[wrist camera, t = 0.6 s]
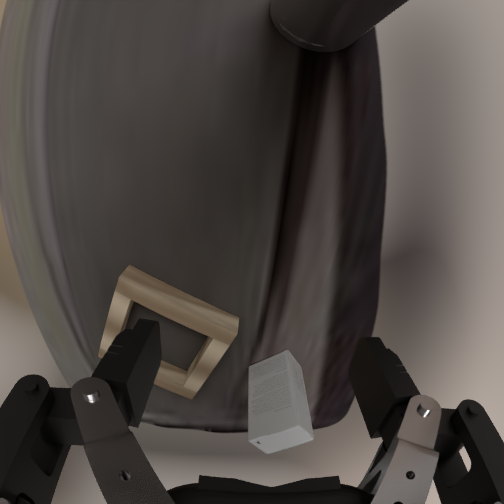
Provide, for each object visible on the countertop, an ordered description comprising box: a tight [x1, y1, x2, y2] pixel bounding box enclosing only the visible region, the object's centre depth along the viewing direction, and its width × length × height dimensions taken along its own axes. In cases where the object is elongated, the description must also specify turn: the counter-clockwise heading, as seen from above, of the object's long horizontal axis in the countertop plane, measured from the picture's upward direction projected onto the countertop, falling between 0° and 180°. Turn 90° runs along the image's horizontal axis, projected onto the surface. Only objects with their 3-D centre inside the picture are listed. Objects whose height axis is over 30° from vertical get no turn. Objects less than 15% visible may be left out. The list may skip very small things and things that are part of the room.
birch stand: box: [98, 265, 239, 399], centre depth 33 cm, size 14×14×3 cm
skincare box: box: [248, 350, 314, 454], centre depth 31 cm, size 6×4×12 cm
